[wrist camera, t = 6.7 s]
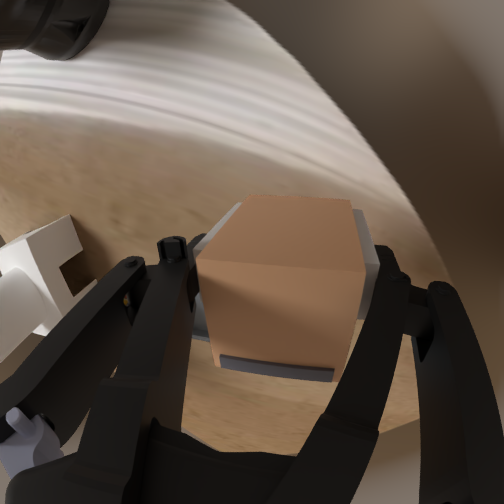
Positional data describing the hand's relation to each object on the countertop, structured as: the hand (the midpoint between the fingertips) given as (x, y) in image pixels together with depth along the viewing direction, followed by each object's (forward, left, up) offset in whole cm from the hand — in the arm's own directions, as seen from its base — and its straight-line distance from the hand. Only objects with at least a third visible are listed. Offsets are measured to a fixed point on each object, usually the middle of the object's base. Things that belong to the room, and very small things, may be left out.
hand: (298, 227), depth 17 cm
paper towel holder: (+16, -45, -14) cm, 49 cm away
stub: (+1, 0, 0) cm, 1 cm away
